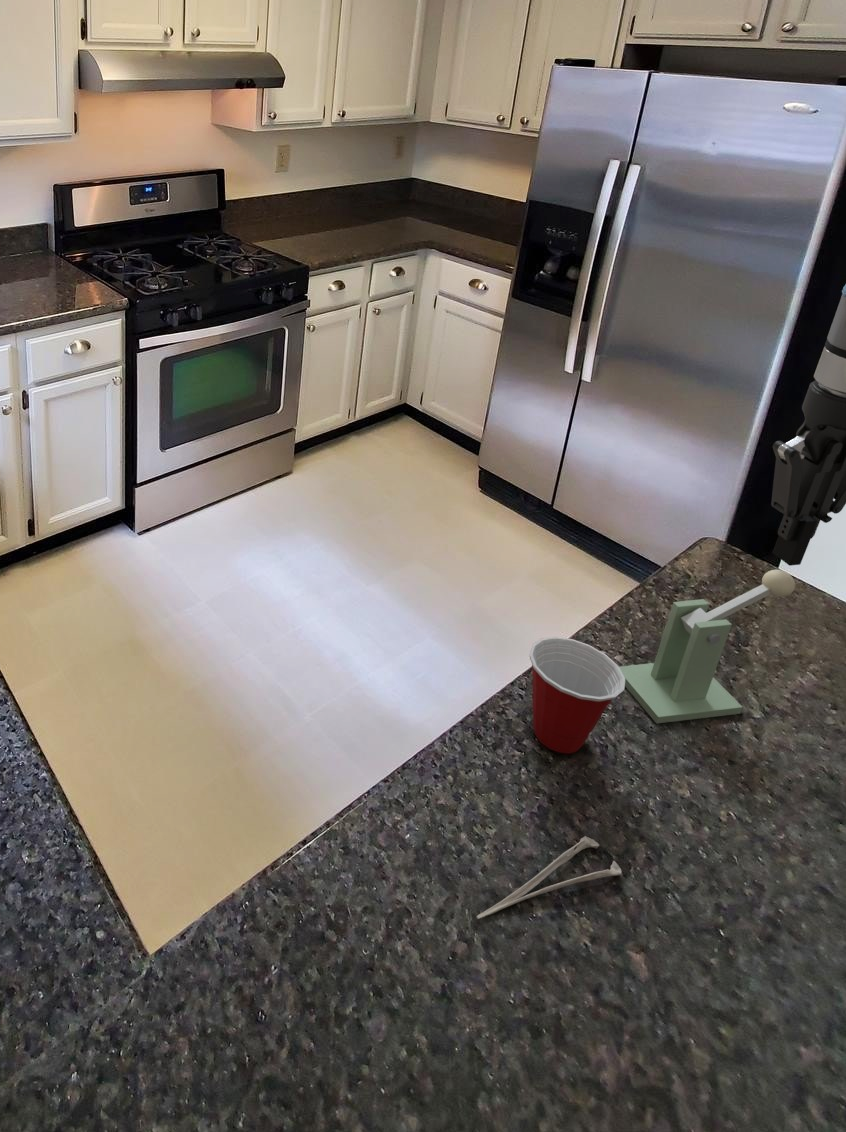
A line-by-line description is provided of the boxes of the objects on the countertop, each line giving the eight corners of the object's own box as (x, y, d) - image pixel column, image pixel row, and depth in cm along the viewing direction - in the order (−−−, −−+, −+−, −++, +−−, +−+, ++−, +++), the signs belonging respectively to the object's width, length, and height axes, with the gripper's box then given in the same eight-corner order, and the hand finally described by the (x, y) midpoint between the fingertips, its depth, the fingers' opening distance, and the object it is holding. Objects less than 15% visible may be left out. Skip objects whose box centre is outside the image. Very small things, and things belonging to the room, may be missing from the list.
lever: (782, 577, 104) (777, 559, 102) (804, 593, 101) (799, 576, 99) (682, 628, 105) (676, 612, 104) (700, 646, 102) (694, 629, 101)
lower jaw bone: (588, 839, 89) (591, 828, 88) (623, 878, 85) (627, 866, 84) (460, 904, 84) (462, 893, 83) (491, 949, 80) (493, 937, 79)
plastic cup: (625, 751, 100) (647, 678, 94) (563, 783, 95) (583, 710, 90) (554, 692, 108) (572, 623, 103) (495, 719, 104) (510, 649, 99)
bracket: (692, 664, 113) (719, 586, 107) (740, 713, 105) (772, 632, 99) (613, 673, 111) (636, 594, 106) (656, 723, 103) (683, 641, 98)
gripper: (873, 372, 94) (808, 537, 104) (773, 378, 93) (717, 545, 103) (935, 398, 87) (858, 572, 97) (828, 406, 86) (762, 581, 96)
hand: (786, 558), depth 100 cm, fingers closed
